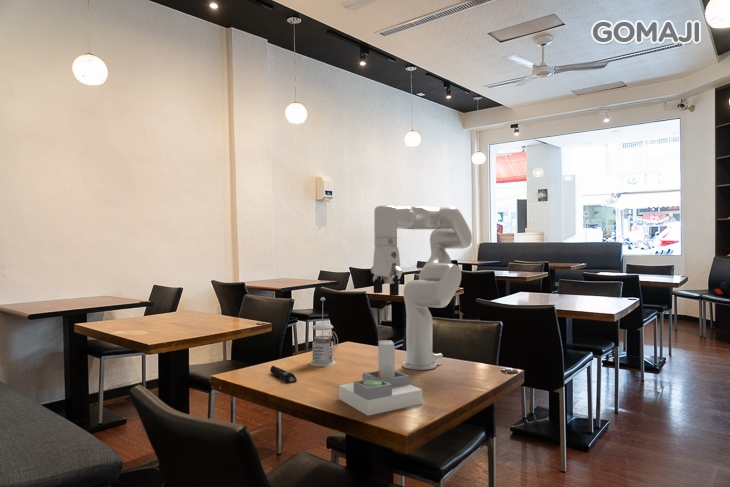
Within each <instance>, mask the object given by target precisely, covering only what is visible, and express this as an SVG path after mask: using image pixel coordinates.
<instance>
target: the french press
mask: <svg viewBox="0 0 730 487" xmlns="http://www.w3.org/2000/svg"><path fill="white" fill-rule="evenodd" d="M319 301H322V306H321V307H322V308H321V309H322V316H321V317H322V322H319V323H318V322H317V323H315V325H313V326H312V327H311V328H312V330H314V331H315V330H317V331H322V335H317V336H314V337H313V341H312V354H311V355H312V360H311V361H310V363H309V365H310V366H314V367H331V366H334V365H336V362H337V361H335V360H334V351H335V349H338V346H339V338H338V336H337V334H336V333H335V331H331V332H330V331H329V332H328V335H324V331H328V330H332V329H333V328H334V326H333V325H332V324H331V323H328V322H324V301H326V298H325V297H324V296H323V297H322V296H321V298H320V299H319ZM333 333H334V334H333ZM334 335H335V336H334ZM332 339H333V340H334V341H333V340H332ZM336 340H337V343H336ZM335 346H336V347H335Z"/></svg>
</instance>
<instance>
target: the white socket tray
mask: <svg viewBox="0 0 730 487" xmlns="http://www.w3.org/2000/svg"><path fill="white" fill-rule="evenodd" d="M410 378H411V376H410V375H409V374H406V373H405V372H404V373H403V372H401V371H398V370H396V369H395V377H393V378H388V379H380V378H379V369H378V370H372V371H365V372H362V379H361V380H355V381H353V382H351V383H345V384H339V385H338V400H340V401H342V402H344V403H345V404H348V405H349V406H350V407H352V408H354V409H355V410H357V411H359V412H360V413H363V415H365V416H372V415H373V416H374V415H377V414H381V413H386V412H390V411H396V410H400V409H406V408H410V407H414V406H415V407H416V406H418V405H423V389H422V388H419V387H417V386H415V385H412V384H410V383H411V380H410ZM366 380H379V381H381V382H382V385H380V386H374V387H367V386H365V385H363V382H364V381H366Z"/></svg>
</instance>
